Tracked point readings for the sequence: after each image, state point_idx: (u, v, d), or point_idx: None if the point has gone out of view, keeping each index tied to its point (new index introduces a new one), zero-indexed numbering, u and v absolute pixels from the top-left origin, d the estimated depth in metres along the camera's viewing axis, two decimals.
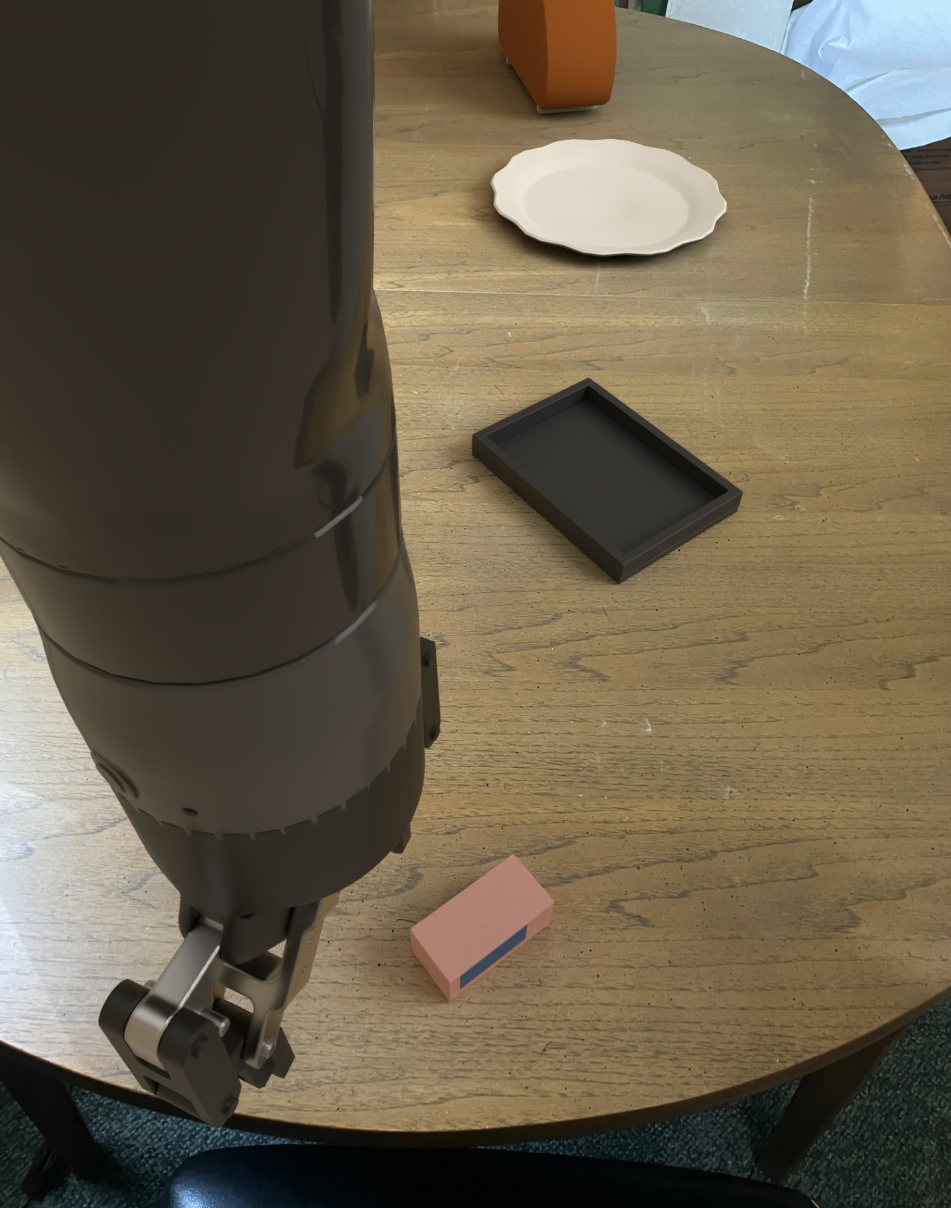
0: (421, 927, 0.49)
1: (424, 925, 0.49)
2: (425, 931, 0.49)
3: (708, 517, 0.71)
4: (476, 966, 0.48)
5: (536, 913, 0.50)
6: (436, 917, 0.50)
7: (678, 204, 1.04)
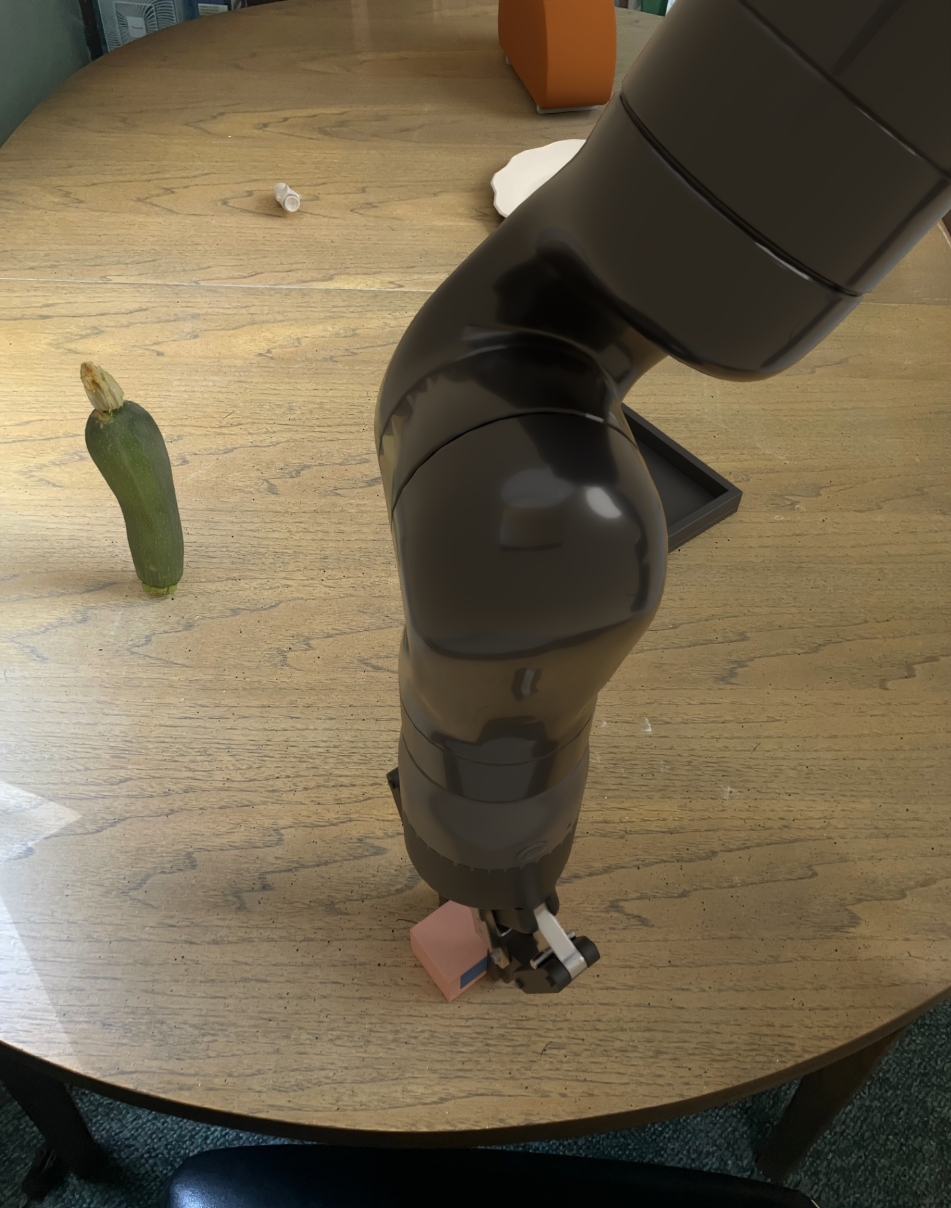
0: (421, 927, 0.49)
1: (424, 925, 0.49)
2: (425, 931, 0.49)
3: (708, 517, 0.71)
4: (476, 966, 0.48)
5: None
6: (436, 917, 0.50)
7: None
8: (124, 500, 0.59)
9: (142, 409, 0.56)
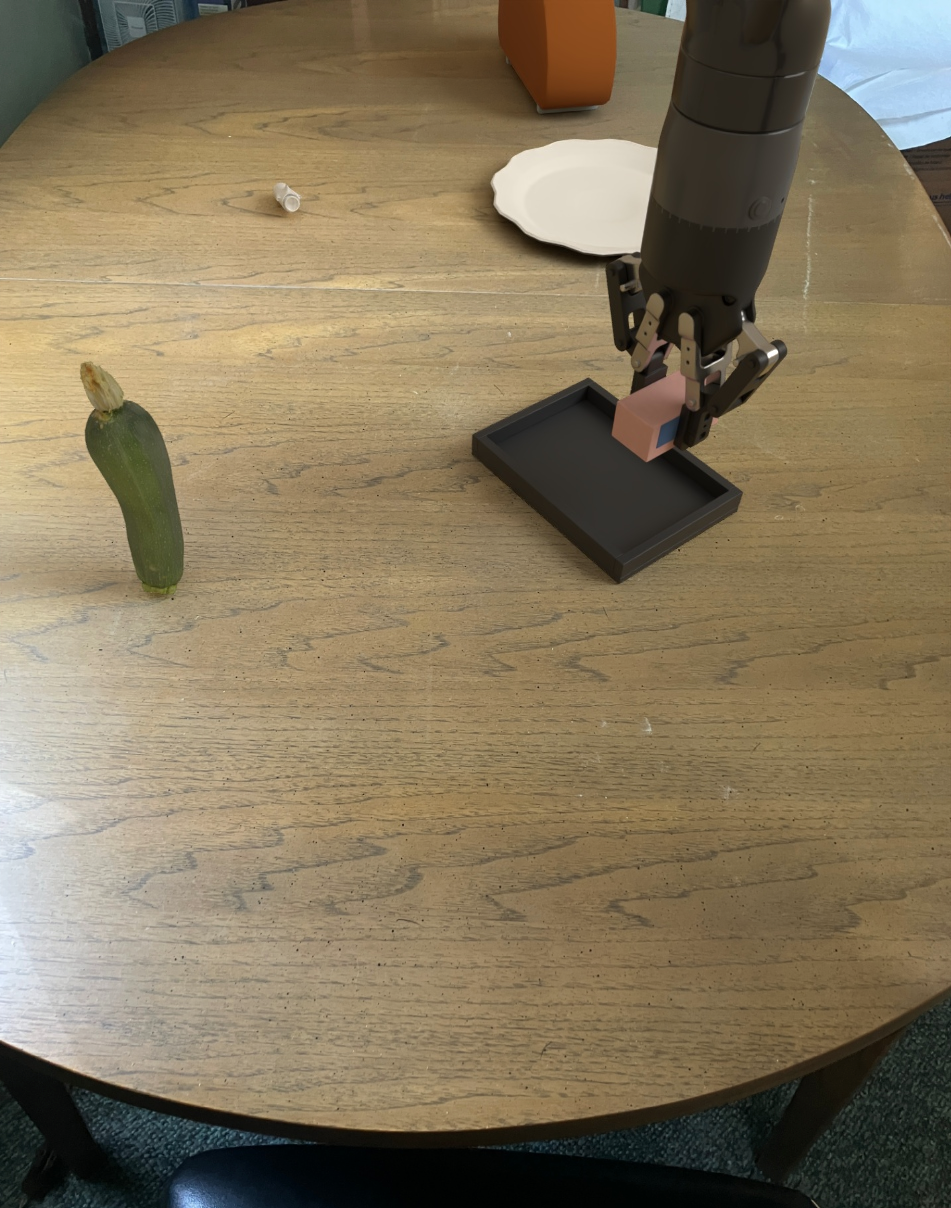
0: (626, 400, 0.64)
1: (628, 399, 0.64)
2: (629, 402, 0.63)
3: (708, 517, 0.71)
4: (670, 424, 0.63)
5: None
6: (636, 396, 0.64)
7: None
8: (124, 500, 0.59)
9: (142, 409, 0.56)
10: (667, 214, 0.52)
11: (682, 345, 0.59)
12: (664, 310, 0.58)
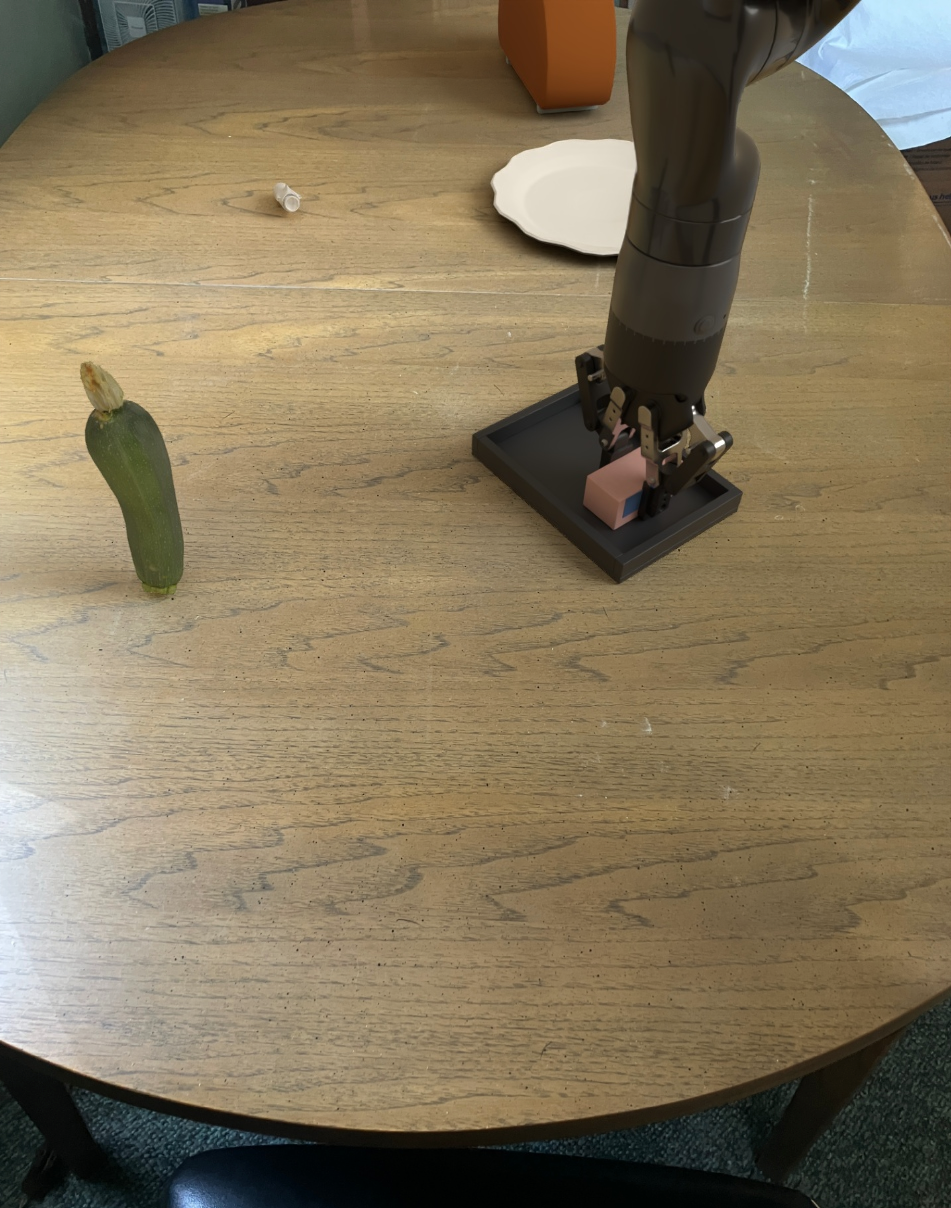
0: (595, 474, 0.71)
1: (596, 474, 0.71)
2: (598, 476, 0.70)
3: (708, 517, 0.71)
4: (635, 497, 0.70)
5: None
6: (604, 470, 0.71)
7: None
8: (124, 500, 0.59)
9: (142, 409, 0.56)
10: (624, 327, 0.59)
11: (642, 432, 0.66)
12: (625, 401, 0.66)
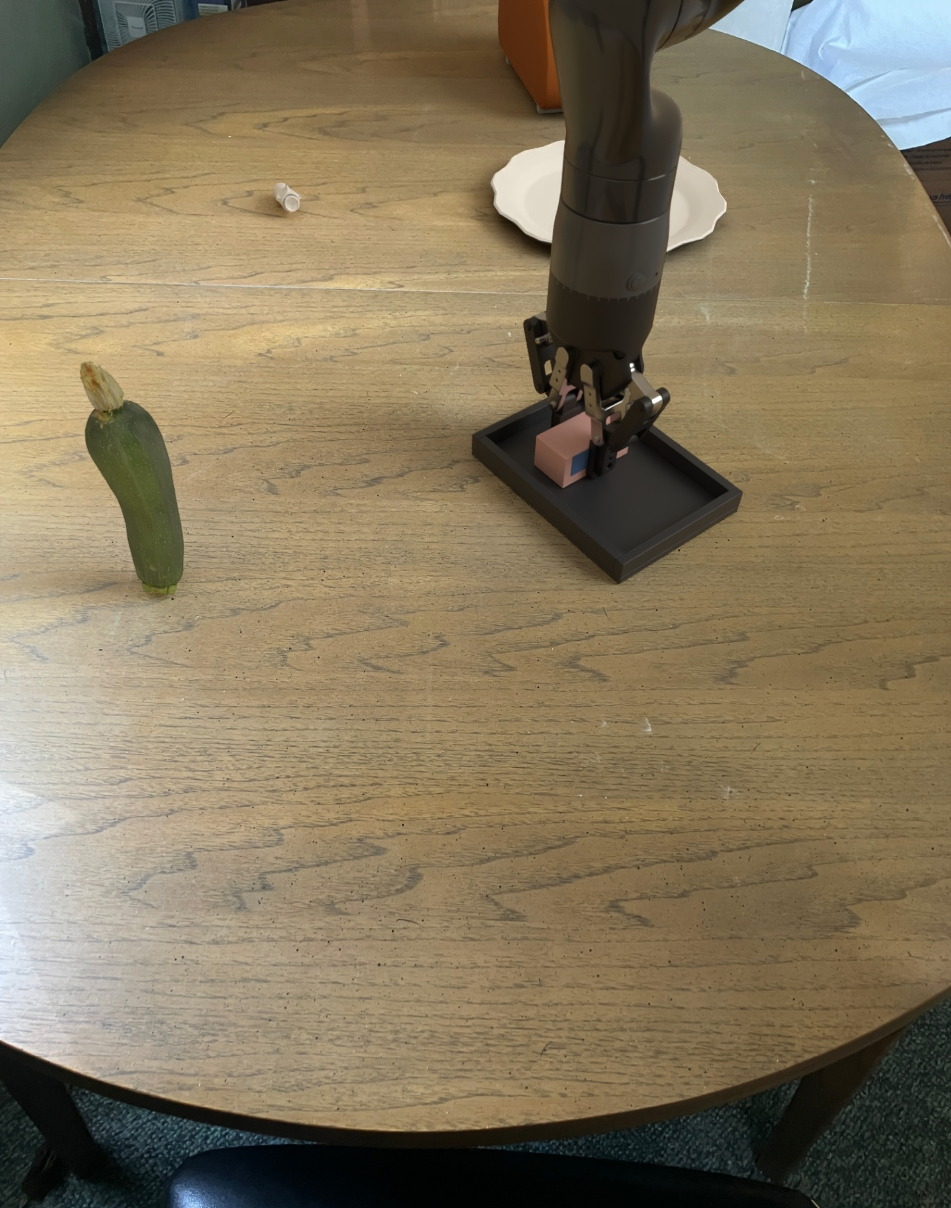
0: (544, 434, 0.73)
1: (545, 434, 0.74)
2: (547, 436, 0.73)
3: (708, 517, 0.71)
4: (582, 455, 0.73)
5: None
6: (553, 431, 0.74)
7: (678, 204, 1.04)
8: (124, 500, 0.59)
9: (142, 409, 0.56)
10: (561, 285, 0.62)
11: (585, 391, 0.69)
12: (569, 361, 0.68)
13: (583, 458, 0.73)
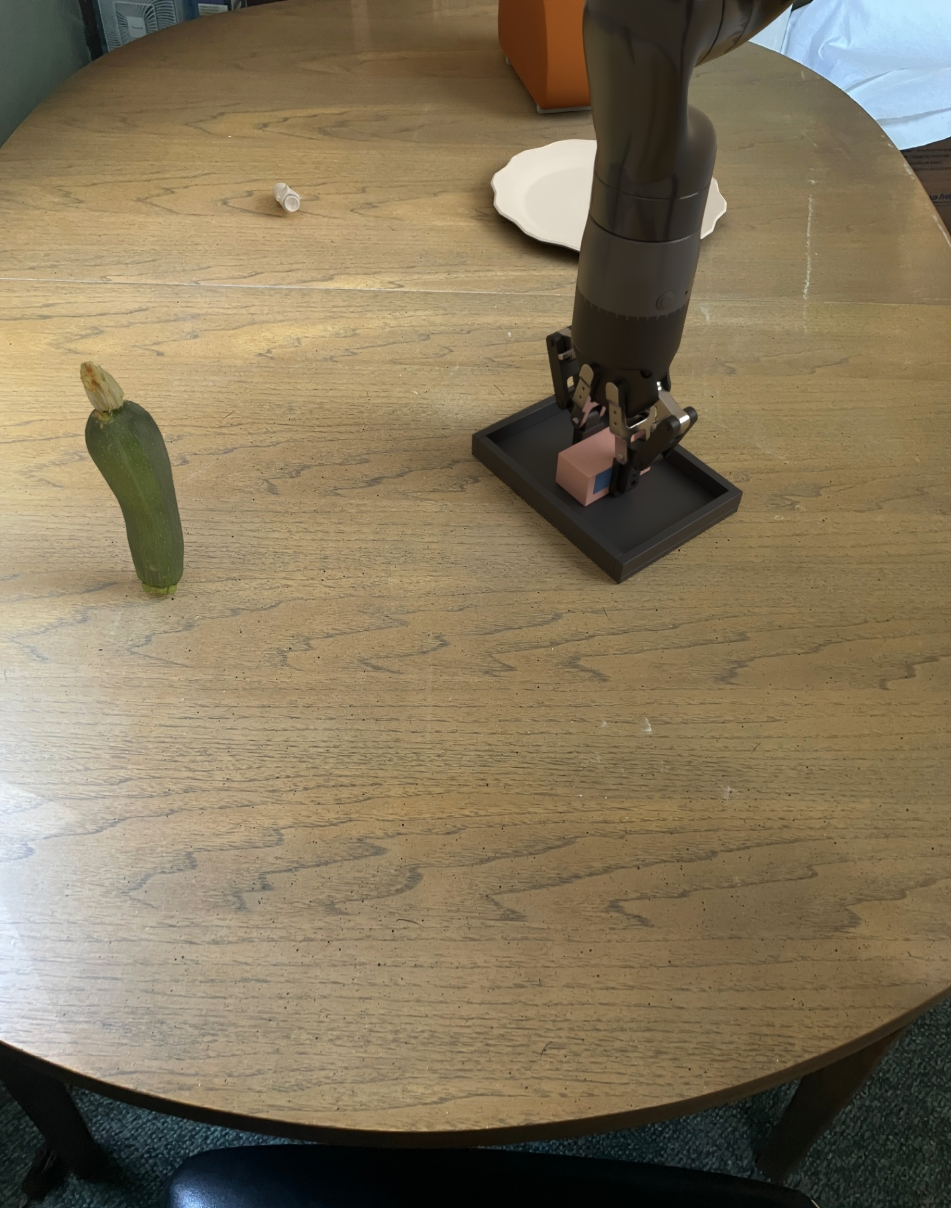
0: (566, 452, 0.72)
1: (568, 451, 0.72)
2: (569, 453, 0.72)
3: (708, 517, 0.71)
4: (605, 473, 0.71)
5: None
6: (575, 448, 0.73)
7: None
8: (124, 500, 0.59)
9: (142, 409, 0.56)
10: (589, 303, 0.61)
11: (610, 409, 0.67)
12: (594, 378, 0.67)
13: (606, 476, 0.72)
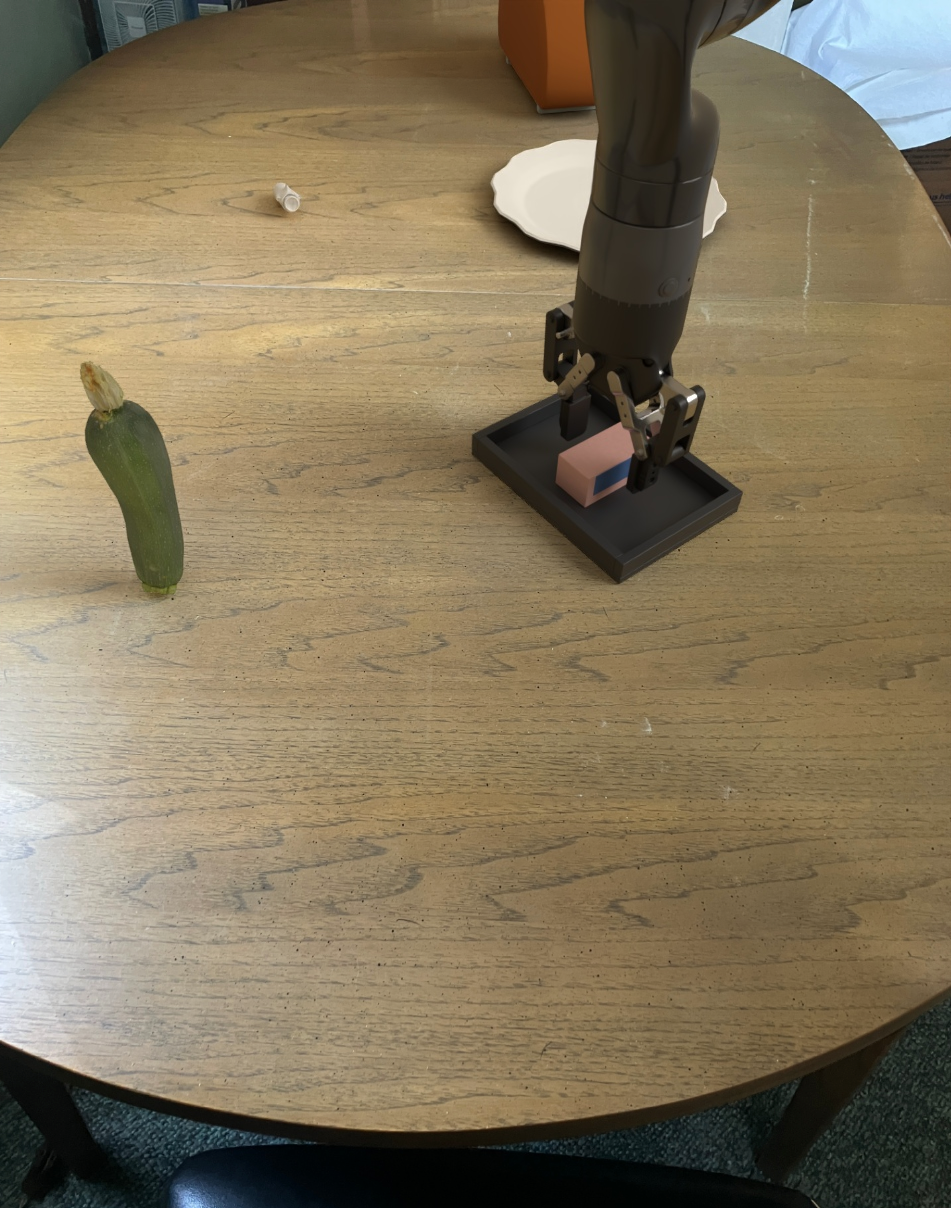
0: (566, 453, 0.72)
1: (568, 452, 0.72)
2: (569, 455, 0.72)
3: (708, 517, 0.71)
4: (605, 474, 0.71)
5: None
6: (575, 449, 0.73)
7: None
8: (124, 500, 0.59)
9: (142, 409, 0.56)
10: (590, 291, 0.60)
11: (617, 402, 0.66)
12: (593, 369, 0.67)
13: (606, 477, 0.72)
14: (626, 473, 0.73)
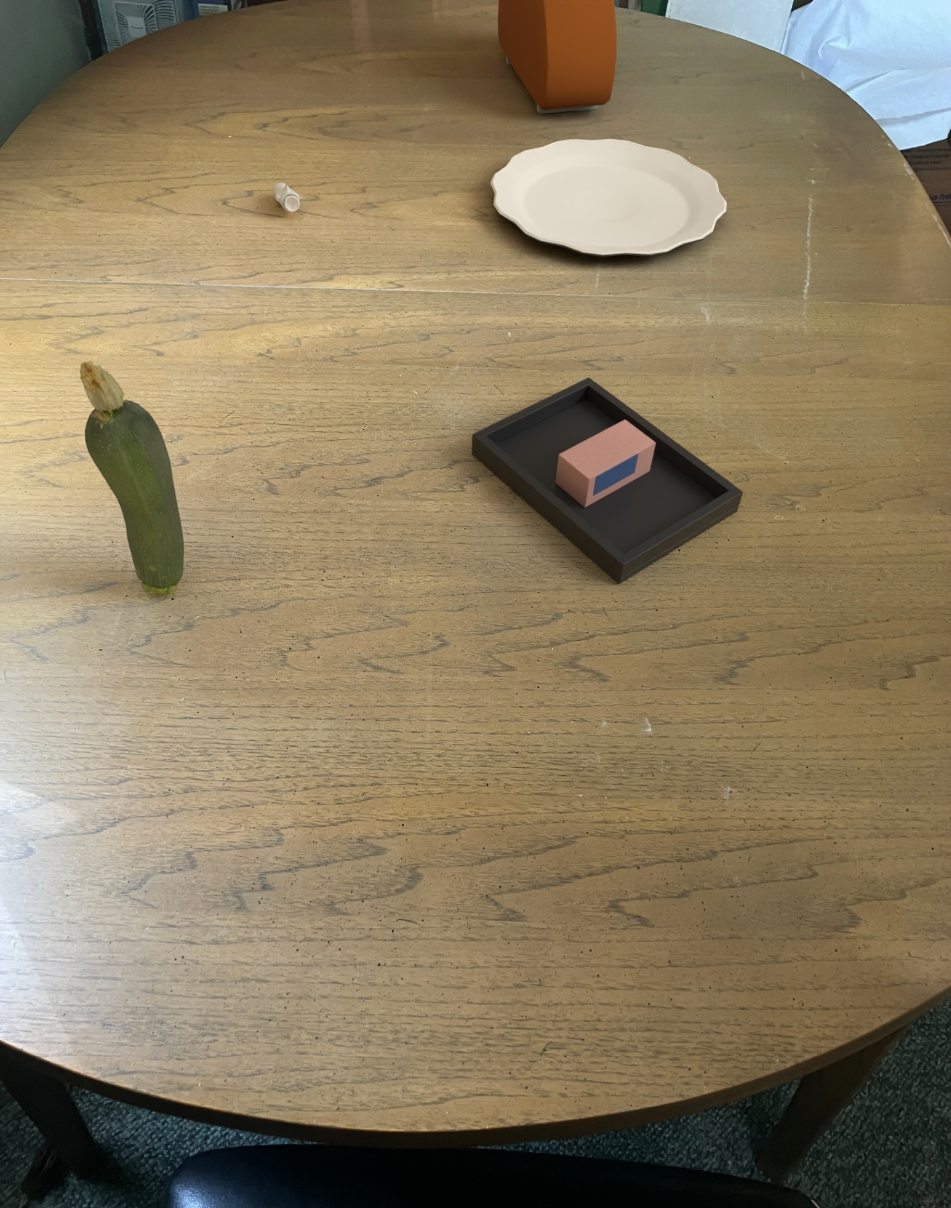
0: (566, 453, 0.72)
1: (568, 452, 0.72)
2: (569, 455, 0.72)
3: (708, 517, 0.71)
4: (605, 474, 0.71)
5: (644, 447, 0.73)
6: (575, 449, 0.73)
7: (678, 204, 1.04)
8: (124, 500, 0.59)
9: (142, 409, 0.56)
10: None
11: None
12: None
13: (606, 477, 0.72)
14: (626, 473, 0.73)
